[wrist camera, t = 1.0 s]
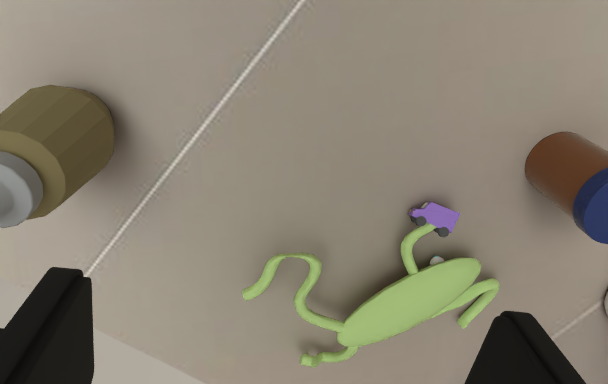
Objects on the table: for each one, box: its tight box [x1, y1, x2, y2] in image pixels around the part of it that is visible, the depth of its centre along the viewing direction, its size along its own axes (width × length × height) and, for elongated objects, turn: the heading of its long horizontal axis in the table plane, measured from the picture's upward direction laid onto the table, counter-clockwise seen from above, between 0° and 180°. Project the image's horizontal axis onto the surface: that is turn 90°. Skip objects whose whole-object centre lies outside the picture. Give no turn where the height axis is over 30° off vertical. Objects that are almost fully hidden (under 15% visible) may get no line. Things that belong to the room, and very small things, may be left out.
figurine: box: [242, 202, 500, 367], centre depth 47 cm, size 18×27×6 cm
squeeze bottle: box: [0, 85, 114, 228], centre depth 31 cm, size 8×8×18 cm
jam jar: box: [525, 132, 608, 220], centre depth 41 cm, size 6×6×9 cm
